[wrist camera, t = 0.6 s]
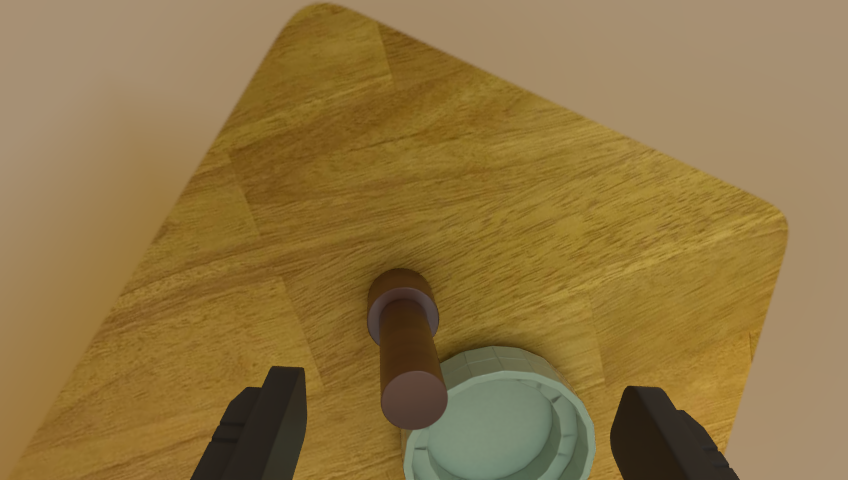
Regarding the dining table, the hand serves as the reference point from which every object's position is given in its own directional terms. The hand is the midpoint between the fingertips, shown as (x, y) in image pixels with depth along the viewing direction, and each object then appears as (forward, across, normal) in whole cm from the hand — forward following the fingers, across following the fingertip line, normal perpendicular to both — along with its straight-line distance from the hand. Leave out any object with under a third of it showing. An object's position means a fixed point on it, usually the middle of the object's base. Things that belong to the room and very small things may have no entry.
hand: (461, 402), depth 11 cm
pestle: (+20, +2, +10) cm, 23 cm away
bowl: (+19, -6, +20) cm, 29 cm away
